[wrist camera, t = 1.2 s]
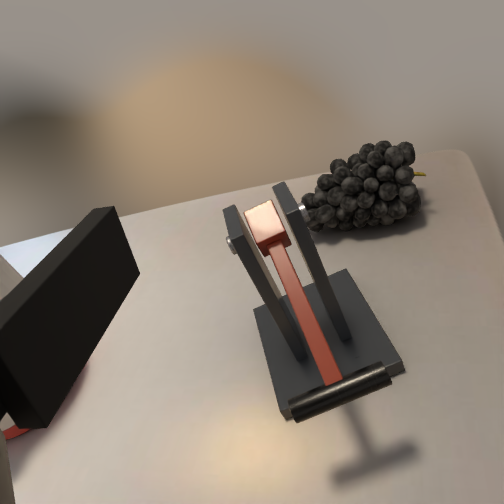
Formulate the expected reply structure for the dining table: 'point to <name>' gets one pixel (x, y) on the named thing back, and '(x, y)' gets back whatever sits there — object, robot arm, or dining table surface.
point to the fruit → (365, 189)
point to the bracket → (323, 305)
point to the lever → (310, 326)
